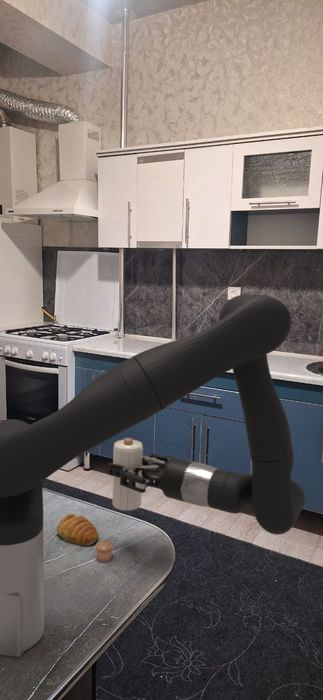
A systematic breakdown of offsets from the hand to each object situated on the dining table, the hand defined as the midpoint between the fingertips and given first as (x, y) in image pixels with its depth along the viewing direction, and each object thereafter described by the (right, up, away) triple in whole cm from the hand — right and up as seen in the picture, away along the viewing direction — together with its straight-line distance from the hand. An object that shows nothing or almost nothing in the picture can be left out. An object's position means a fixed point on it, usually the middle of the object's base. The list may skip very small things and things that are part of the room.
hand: (117, 463), depth 100 cm
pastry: (-9, -17, +6) cm, 20 cm away
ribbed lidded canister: (+2, -8, 0) cm, 8 cm away
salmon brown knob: (-2, -18, -2) cm, 18 cm away
